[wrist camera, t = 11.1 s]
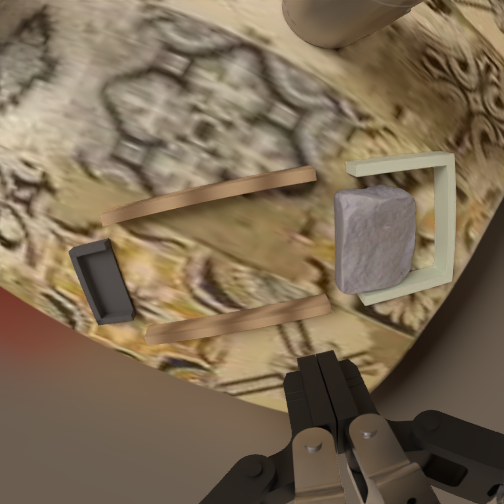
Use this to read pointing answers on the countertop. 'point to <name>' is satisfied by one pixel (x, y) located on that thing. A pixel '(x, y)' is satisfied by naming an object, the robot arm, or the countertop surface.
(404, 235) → the stone block
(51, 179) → the countertop surface
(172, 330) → the channel
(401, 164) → the u-shaped green frame
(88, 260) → the dark gray shallow tray
